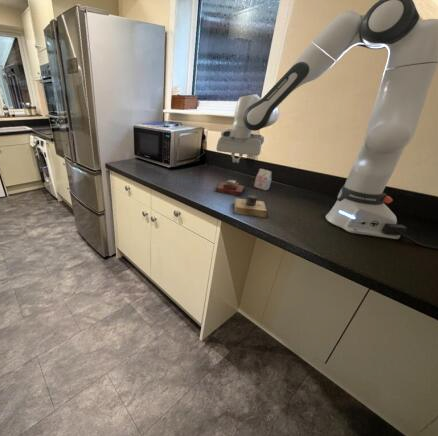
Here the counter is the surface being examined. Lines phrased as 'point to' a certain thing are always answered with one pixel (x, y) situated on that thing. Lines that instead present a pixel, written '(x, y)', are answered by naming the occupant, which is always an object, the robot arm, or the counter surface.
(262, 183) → the small white box
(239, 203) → the volume panel
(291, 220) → the counter surface
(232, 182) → the key
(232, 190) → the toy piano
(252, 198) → the volume dial
